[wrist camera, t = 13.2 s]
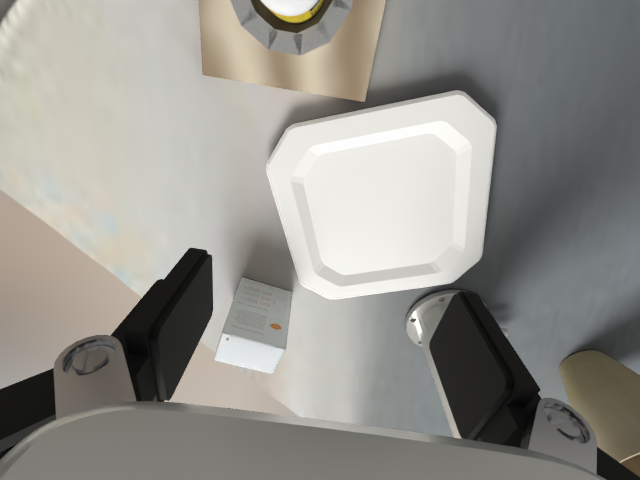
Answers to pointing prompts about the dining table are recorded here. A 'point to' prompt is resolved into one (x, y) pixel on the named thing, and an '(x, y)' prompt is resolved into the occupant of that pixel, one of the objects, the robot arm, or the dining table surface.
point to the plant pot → (606, 403)
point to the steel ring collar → (289, 41)
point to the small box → (255, 327)
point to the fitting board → (288, 69)
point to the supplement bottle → (294, 9)
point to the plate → (385, 194)
